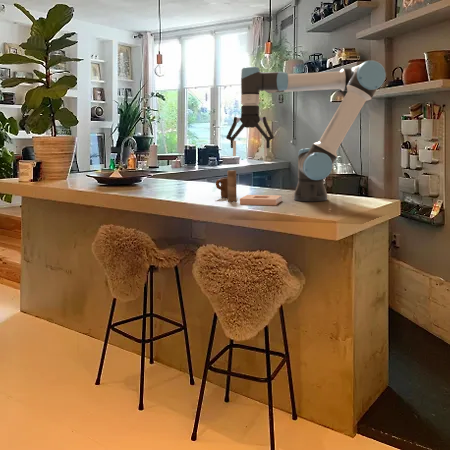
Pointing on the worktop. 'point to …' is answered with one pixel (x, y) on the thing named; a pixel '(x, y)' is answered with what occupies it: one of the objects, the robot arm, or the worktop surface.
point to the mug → (223, 186)
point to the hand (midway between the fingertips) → (250, 156)
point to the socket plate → (261, 199)
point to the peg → (231, 185)
